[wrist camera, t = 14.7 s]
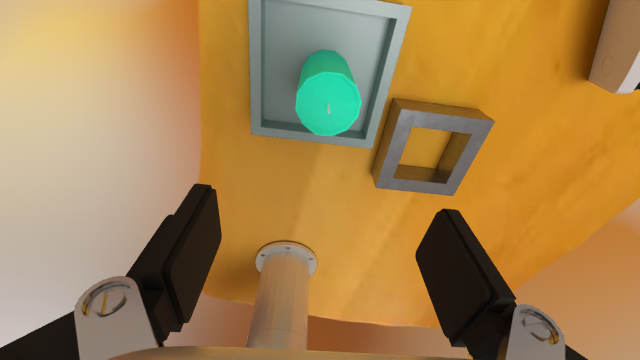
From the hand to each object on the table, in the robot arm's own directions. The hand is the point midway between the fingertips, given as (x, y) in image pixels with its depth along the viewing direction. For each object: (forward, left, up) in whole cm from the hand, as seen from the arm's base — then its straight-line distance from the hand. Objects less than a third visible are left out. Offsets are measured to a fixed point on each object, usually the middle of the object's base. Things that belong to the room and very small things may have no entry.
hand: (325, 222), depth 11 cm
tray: (0, 0, -26) cm, 26 cm away
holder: (-8, -16, -26) cm, 32 cm away
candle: (0, -1, -25) cm, 25 cm away
